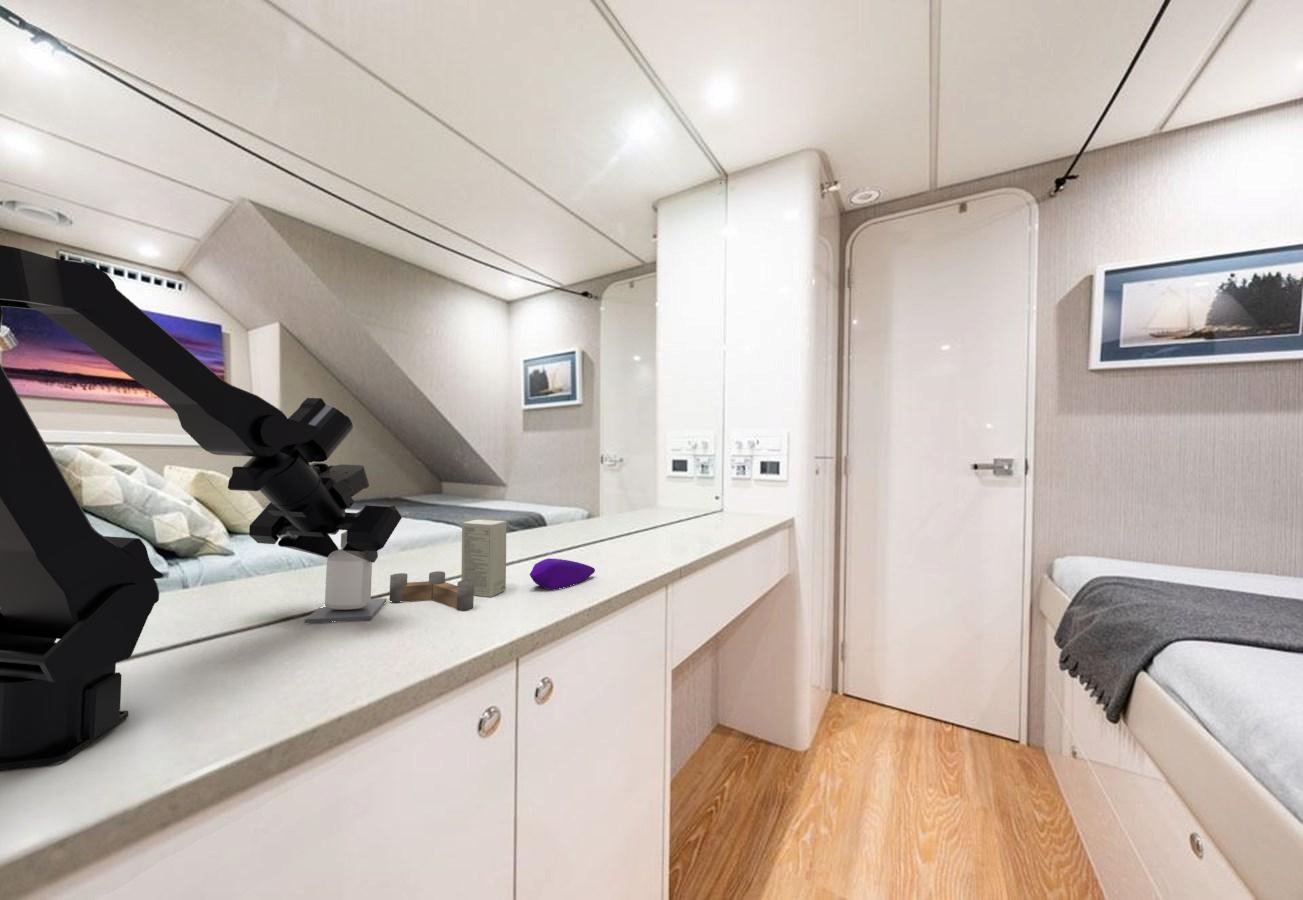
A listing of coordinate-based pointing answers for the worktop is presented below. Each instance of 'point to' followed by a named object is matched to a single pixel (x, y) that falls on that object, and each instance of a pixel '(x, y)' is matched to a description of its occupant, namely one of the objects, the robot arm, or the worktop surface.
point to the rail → (433, 590)
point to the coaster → (346, 613)
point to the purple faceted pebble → (559, 573)
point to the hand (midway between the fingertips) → (356, 558)
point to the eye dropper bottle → (347, 580)
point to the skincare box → (484, 555)
